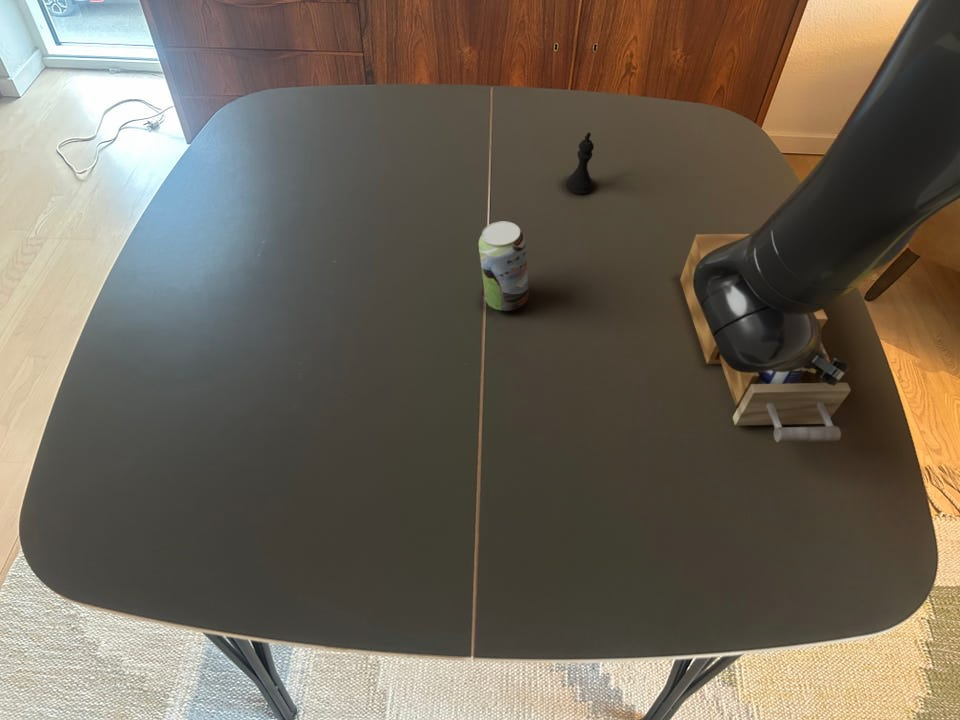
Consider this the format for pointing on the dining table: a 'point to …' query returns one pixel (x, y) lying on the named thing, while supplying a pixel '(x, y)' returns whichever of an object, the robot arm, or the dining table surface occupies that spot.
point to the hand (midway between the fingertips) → (794, 348)
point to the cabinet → (697, 252)
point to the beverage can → (504, 266)
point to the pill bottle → (779, 377)
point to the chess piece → (582, 170)
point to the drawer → (787, 404)
